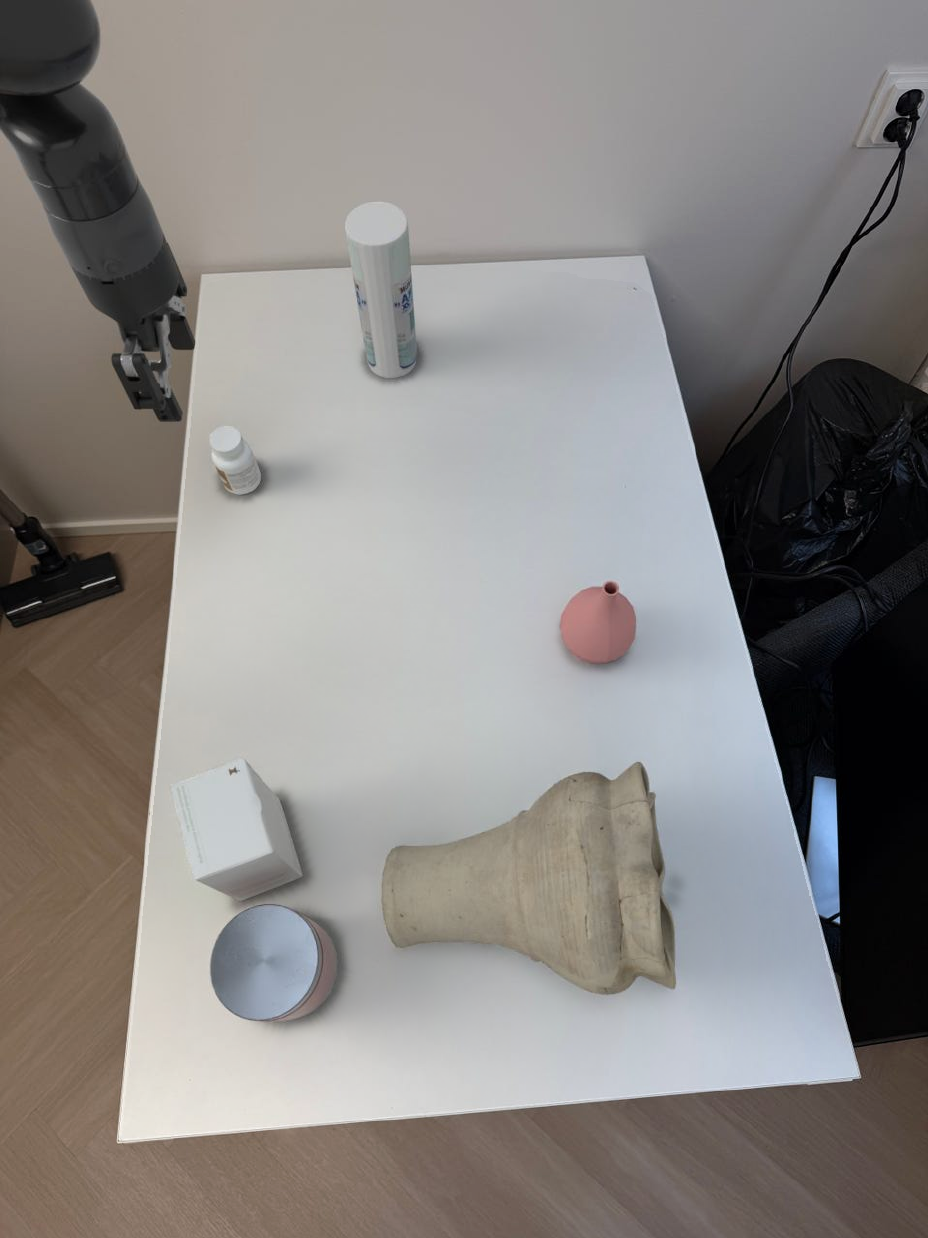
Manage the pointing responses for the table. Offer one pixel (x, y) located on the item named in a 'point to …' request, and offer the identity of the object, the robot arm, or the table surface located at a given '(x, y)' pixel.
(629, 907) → the vase
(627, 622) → the pink bud vase
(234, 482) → the pill bottle
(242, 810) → the cosmetic box
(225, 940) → the tin can
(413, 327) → the spray can
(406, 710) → the table surface
